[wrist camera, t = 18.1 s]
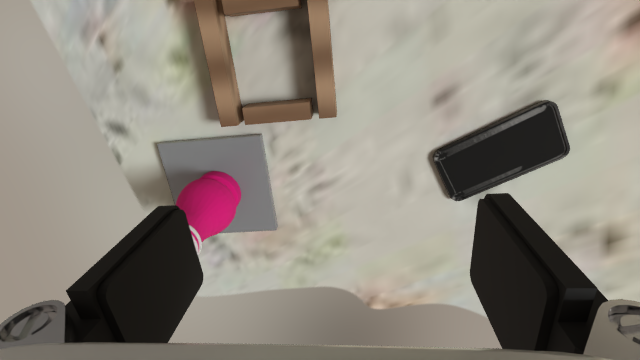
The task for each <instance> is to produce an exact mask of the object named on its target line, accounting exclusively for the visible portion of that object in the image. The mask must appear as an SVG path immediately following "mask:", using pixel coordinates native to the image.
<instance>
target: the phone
mask: <svg viewBox="0 0 640 360" xmlns="http://www.w3.org/2000/svg"><path fill="white" fill-rule="evenodd" d="M569 151H570V146H569V142H568V139H567V136H566V132H565V129H564V126H563V123H562V119H561V116H560V113H559V109H558V106H557V104H555V103H554V102H551V101H548V100H546V101H541V102H539V103H537V104H535V105H533V106H531V107H528V108H526V109H524V110H522V111H520V112H518V113H516V114H513V115H511V116H509V117H507V118H505V119H503V120H500V121H498V122H496V123H494V124H492V125H490V126H488V127H485V128H483V129H481V130H479V131H477V132H475V133H472V134H470V135H468V136H466V137H464V138H462V139H460V140H457V141H455V142H453V143H451V144H449V145H447V146H445V147H442V148H440V149H438V150H437V151H436V152H435V153H434V155H433V160H434V162H435V165H436V167H437V169H438V171H439V174H440V176H441V178H442V180H443V182H444V185H445V187H446V189H447V191H448V193H449V195H450V197H451V198H452V199H453V200H455V201H461V200H464V199H466V198H469V197H471V196H473V195H476V194H478V193H481V192H483V191H485V190H488V189H490V188H493V187H495V186H497V185H500V184H502V183H505V182H507V181H509V180H512V179H514V178H517V177H519V176H521V175H524V174H526V173H529V172H531V171H533V170H536V169H538V168H541V167H543V166H545V165H548V164H550V163H553V162H555V161H557V160H560V159H562V158H564V157H565V156H567V155H568V153H569Z"/></svg>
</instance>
